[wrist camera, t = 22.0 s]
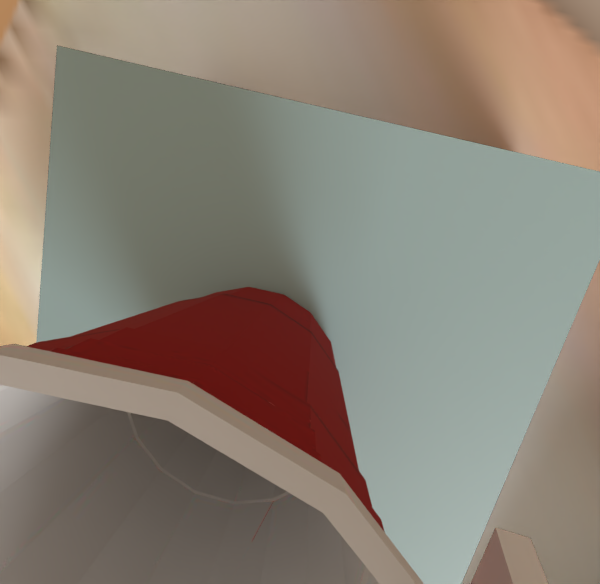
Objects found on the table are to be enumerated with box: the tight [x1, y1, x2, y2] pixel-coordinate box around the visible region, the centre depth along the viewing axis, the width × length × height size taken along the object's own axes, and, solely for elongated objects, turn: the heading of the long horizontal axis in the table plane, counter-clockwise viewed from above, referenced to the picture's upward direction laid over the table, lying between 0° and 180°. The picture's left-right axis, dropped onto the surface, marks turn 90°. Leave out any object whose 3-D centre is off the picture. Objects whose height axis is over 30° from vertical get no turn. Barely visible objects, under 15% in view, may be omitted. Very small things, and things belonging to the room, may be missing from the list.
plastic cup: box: [0, 287, 424, 584], centre depth 12 cm, size 11×11×12 cm
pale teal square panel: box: [37, 46, 600, 584], centre depth 18 cm, size 19×18×1 cm
